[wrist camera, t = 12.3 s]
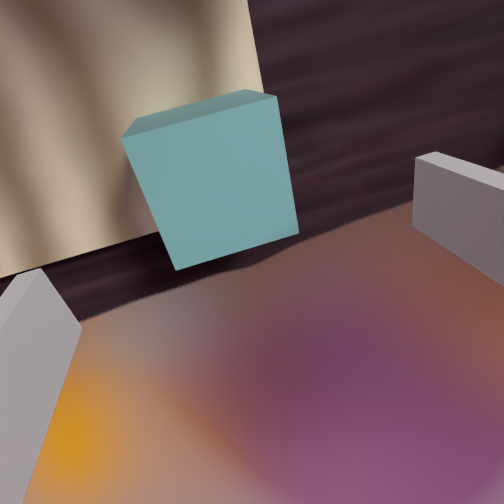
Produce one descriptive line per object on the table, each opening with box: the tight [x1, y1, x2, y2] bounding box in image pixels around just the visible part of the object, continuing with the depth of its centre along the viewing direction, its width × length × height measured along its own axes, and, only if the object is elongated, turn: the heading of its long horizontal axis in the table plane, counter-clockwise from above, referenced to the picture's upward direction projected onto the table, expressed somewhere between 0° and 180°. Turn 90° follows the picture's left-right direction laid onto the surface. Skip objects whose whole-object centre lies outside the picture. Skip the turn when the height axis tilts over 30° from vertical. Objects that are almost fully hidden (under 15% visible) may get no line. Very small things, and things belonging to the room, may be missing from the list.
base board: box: [0, 0, 264, 278], centre depth 22 cm, size 24×16×2 cm, turn 103°
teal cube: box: [120, 89, 299, 270], centre depth 20 cm, size 8×8×8 cm
